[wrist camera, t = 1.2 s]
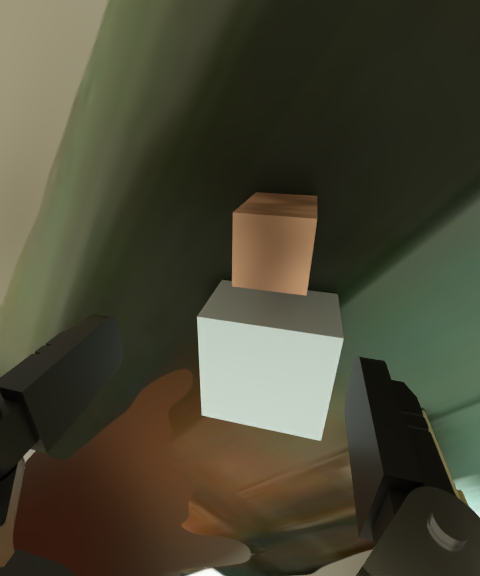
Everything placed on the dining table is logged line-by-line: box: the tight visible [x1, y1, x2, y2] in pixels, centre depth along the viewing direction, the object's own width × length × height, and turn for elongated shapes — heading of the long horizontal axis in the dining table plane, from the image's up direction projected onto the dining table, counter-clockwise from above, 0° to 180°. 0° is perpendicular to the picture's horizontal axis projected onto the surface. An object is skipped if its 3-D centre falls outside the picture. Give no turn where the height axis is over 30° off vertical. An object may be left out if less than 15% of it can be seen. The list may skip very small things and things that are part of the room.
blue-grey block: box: [197, 280, 344, 441], centre depth 28 cm, size 11×11×7 cm
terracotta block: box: [232, 192, 317, 296], centre depth 22 cm, size 5×5×8 cm
